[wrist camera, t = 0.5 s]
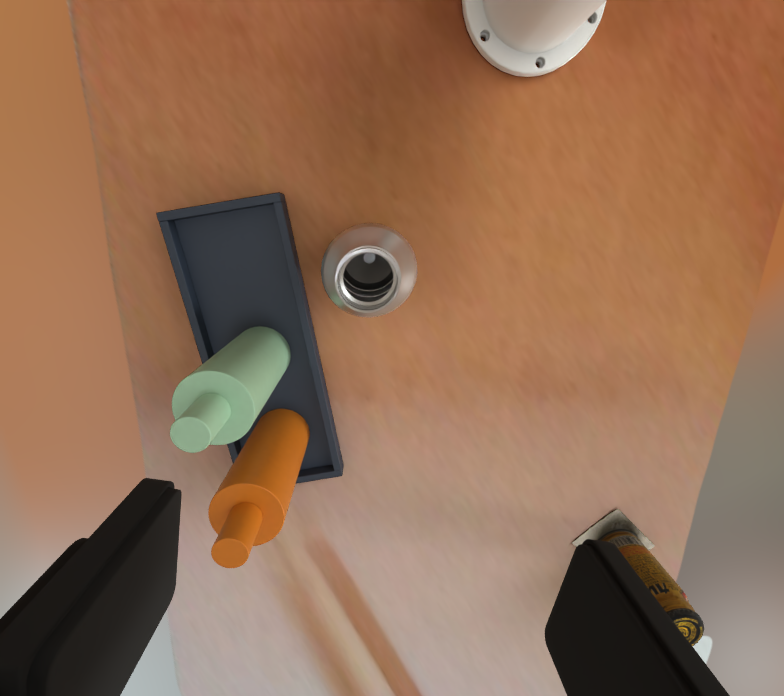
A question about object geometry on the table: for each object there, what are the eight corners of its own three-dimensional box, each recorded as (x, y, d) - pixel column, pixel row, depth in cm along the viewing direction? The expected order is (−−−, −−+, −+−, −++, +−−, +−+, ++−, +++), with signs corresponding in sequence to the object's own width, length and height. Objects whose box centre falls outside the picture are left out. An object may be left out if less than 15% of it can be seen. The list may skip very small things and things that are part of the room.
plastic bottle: (326, 239, 41) (286, 248, 22) (389, 214, 41) (403, 201, 22) (351, 298, 43) (333, 354, 24) (411, 275, 43) (442, 313, 24)
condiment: (609, 577, 55) (671, 669, 44) (571, 541, 53) (626, 628, 42) (653, 544, 54) (729, 630, 42) (616, 506, 52) (685, 586, 40)
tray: (166, 213, 40) (155, 212, 38) (284, 194, 40) (279, 192, 38) (247, 481, 49) (241, 492, 47) (343, 465, 49) (342, 476, 47)
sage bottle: (226, 331, 43) (128, 400, 26) (283, 321, 43) (223, 384, 26) (241, 384, 45) (159, 482, 27) (296, 375, 45) (247, 467, 27)
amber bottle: (250, 413, 46) (175, 525, 28) (303, 404, 46) (260, 511, 28) (263, 460, 47) (200, 593, 30) (314, 451, 47) (281, 580, 30)
